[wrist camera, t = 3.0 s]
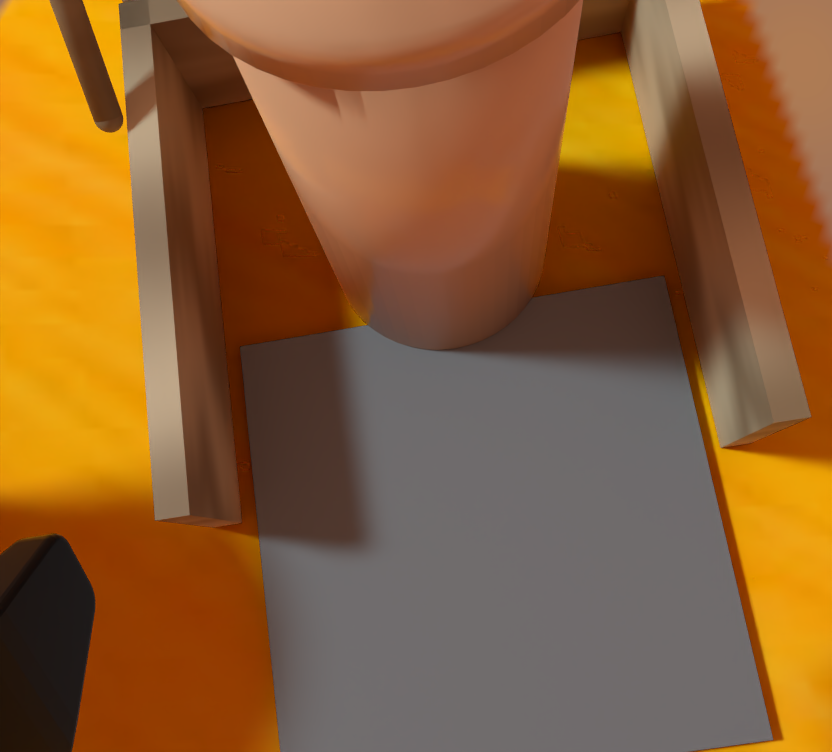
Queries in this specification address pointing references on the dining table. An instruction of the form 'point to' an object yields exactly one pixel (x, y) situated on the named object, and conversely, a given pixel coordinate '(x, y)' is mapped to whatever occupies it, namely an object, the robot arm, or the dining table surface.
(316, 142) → the pink lidded canister
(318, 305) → the dining table surface
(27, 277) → the dining table surface
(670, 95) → the brown open rectangular box
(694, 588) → the mat
